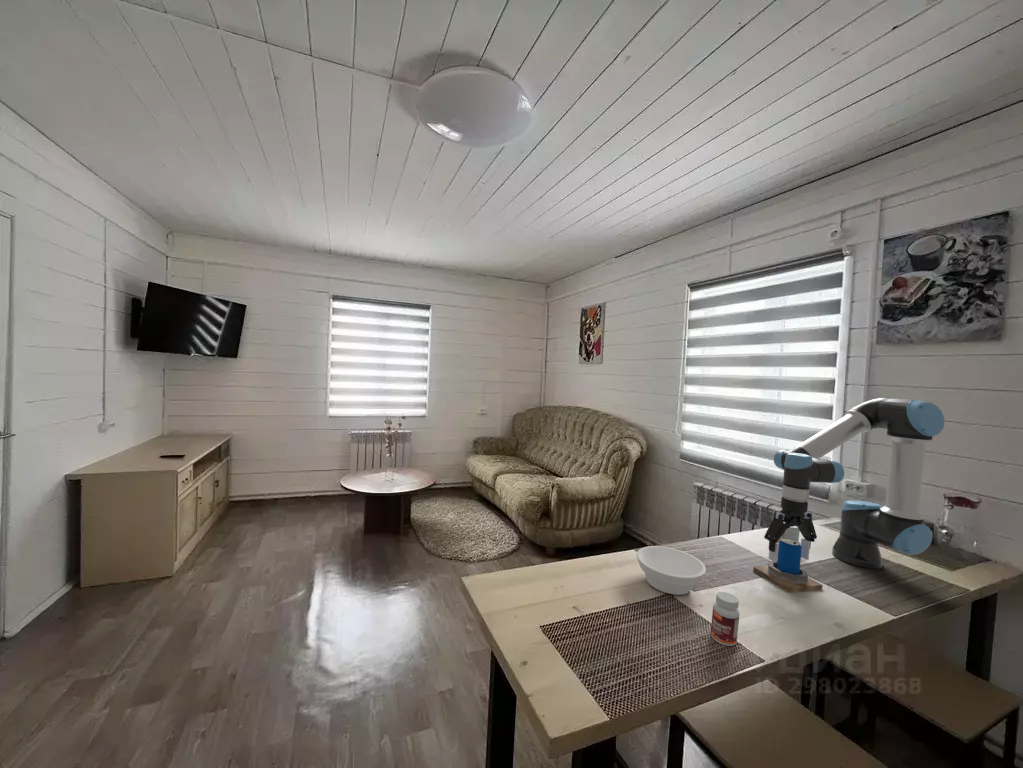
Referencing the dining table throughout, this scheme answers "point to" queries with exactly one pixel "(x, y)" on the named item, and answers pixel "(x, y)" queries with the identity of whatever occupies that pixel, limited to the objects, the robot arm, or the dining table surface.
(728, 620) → the pill bottle
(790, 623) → the dining table surface
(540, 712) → the dining table surface
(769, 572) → the socket
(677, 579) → the bowl
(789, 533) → the small box
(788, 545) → the beverage can
